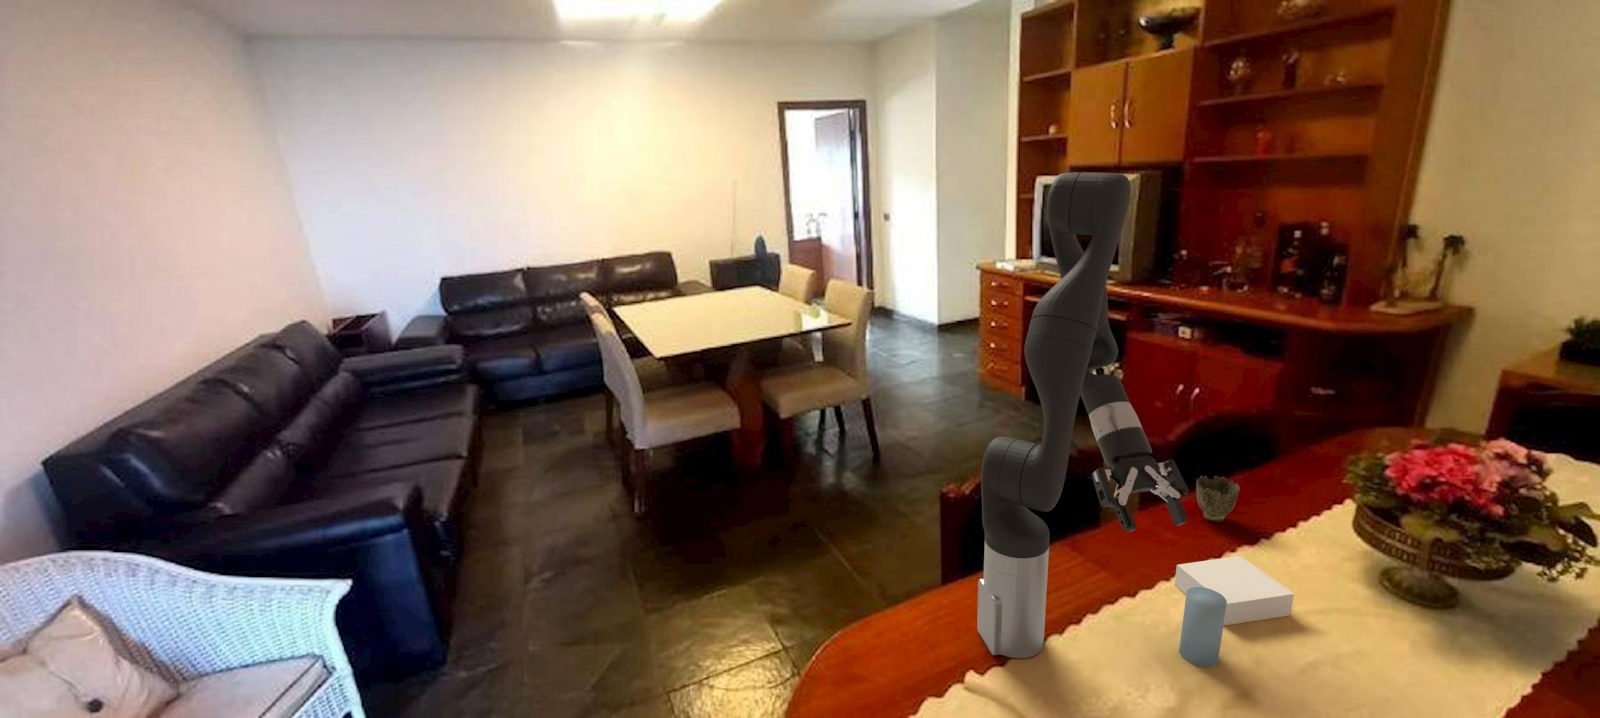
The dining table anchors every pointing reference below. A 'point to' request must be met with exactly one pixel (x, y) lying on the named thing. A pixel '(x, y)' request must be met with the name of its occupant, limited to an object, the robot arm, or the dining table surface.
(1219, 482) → the cup
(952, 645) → the dining table surface
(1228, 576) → the white plinth
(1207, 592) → the blue cylinder
